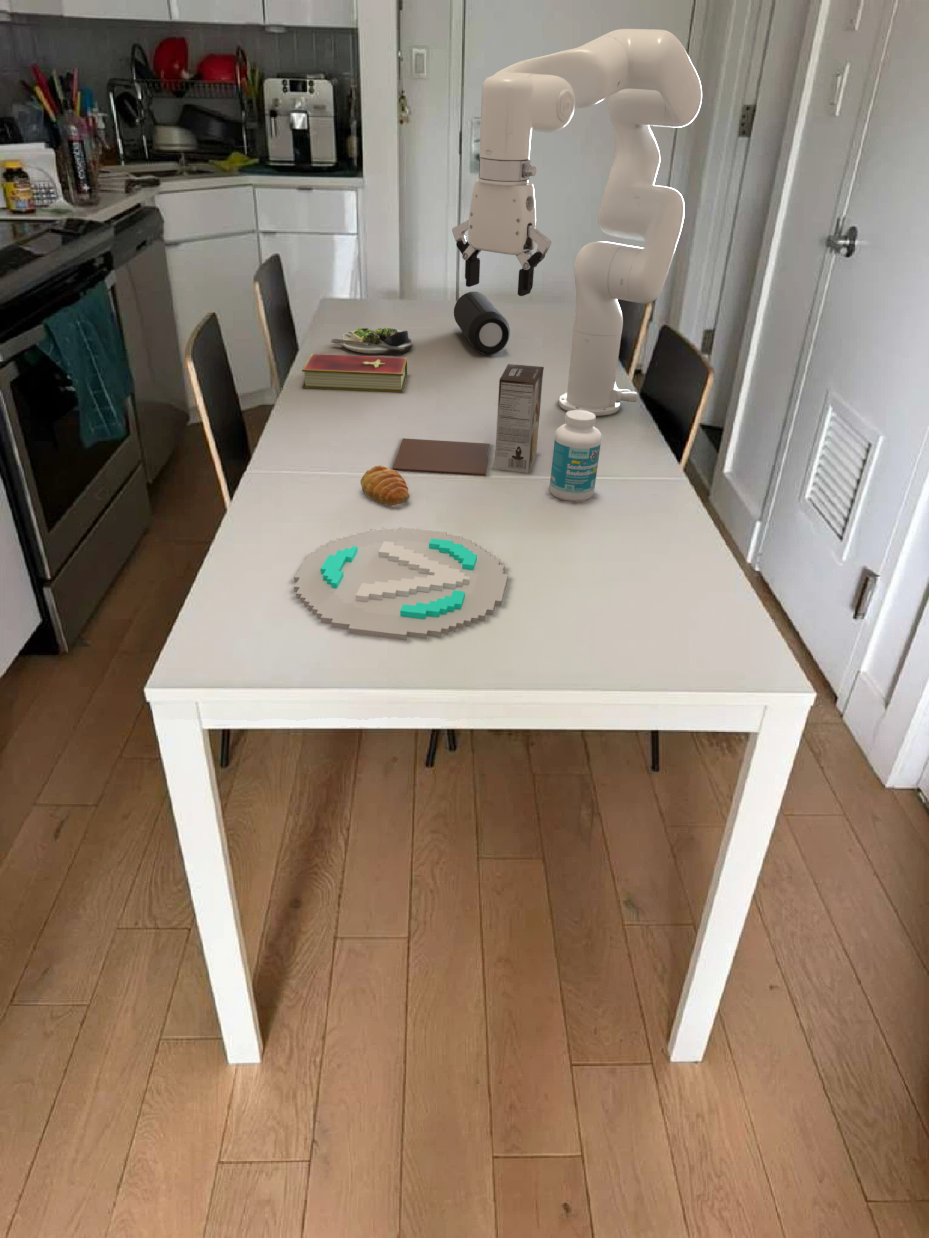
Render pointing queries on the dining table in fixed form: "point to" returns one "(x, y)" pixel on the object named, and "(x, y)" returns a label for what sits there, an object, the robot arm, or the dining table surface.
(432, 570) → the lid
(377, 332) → the salad plate
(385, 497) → the pastry
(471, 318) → the portable speaker
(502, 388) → the coffee box
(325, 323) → the dining table surface
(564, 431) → the pill bottle
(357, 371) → the hardcover book
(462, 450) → the mat
